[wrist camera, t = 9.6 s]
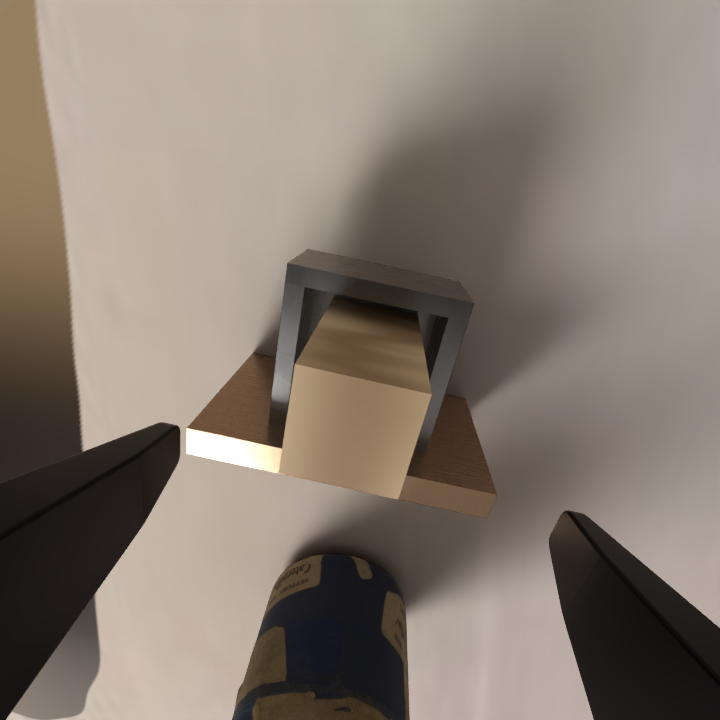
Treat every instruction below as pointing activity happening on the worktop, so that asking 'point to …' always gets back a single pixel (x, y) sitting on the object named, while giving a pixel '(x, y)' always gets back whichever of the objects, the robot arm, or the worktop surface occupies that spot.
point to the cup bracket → (298, 321)
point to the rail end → (357, 400)
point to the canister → (329, 646)
